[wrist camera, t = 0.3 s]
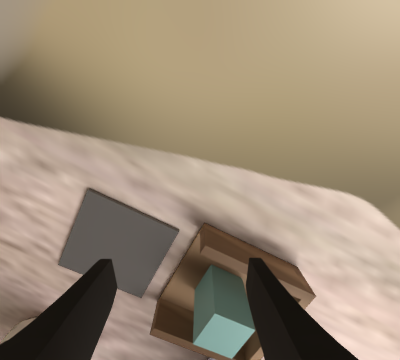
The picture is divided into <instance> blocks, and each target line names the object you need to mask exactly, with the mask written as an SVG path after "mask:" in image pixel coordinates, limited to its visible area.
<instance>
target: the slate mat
mask: <svg viewBox="0 0 400 360" xmlns="http://www.w3.org/2000/svg"><path fill="white" fill-rule="evenodd" d="M178 232H179V230H178V229H176V228H174V227H172V226H170V225H168V224H165V223H163V222H161V221H159V220H157V219H155V218H152V217H150V216H148V215H146V214H144V213H142V212H139V211H137V210H135V209H133V208H131V207H129V206H126V205H124V204H122V203H120V202H118V201H116V200H113V199H111V198H109V197H107V196H105V195H103V194H100V193H98V192H96V191H94V190H92V189H88V190H87V193H86V195H85V198H84V200H83V203H82V205H81V208H80V211H79V213H78V216H77V218H76V221H75V223H74V226H73V228H72V231H71V233H70V236H69V238H68V241H67V244H66V246H65V249H64V251H63V254H62V256H61V259H60V261H59V264H58V265H60V266H63V267H65V268H68V269H70V270H73V271H75V272H78V273H80V274H83V275H84V274H85V273H86V272H87V271H88V270H89V269H90V268H91V267H92V266H93V265H94V264H95V263H96V262H97V261H98V260H99V259H112V263H113V267H114V272H115V277H116V282H117V288H118V289H120V290H122V291H125V292H127V293H130V294H132V295H135V296H137V297H140V298H142V296H143V294H144V292H145V290H146V289H147V287H148V285H149V283H150V282H151V280H152V278H153V276H154V275H155V273H156V271H157V269H158V268H159V266H160V264H161V262H162V260H163V259H164V257H165V255H166V253H167V252H168V250H169V248H170V246H171V245H172V243H173V241H174V239H175V237H176V236H177V234H178Z"/></svg>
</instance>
